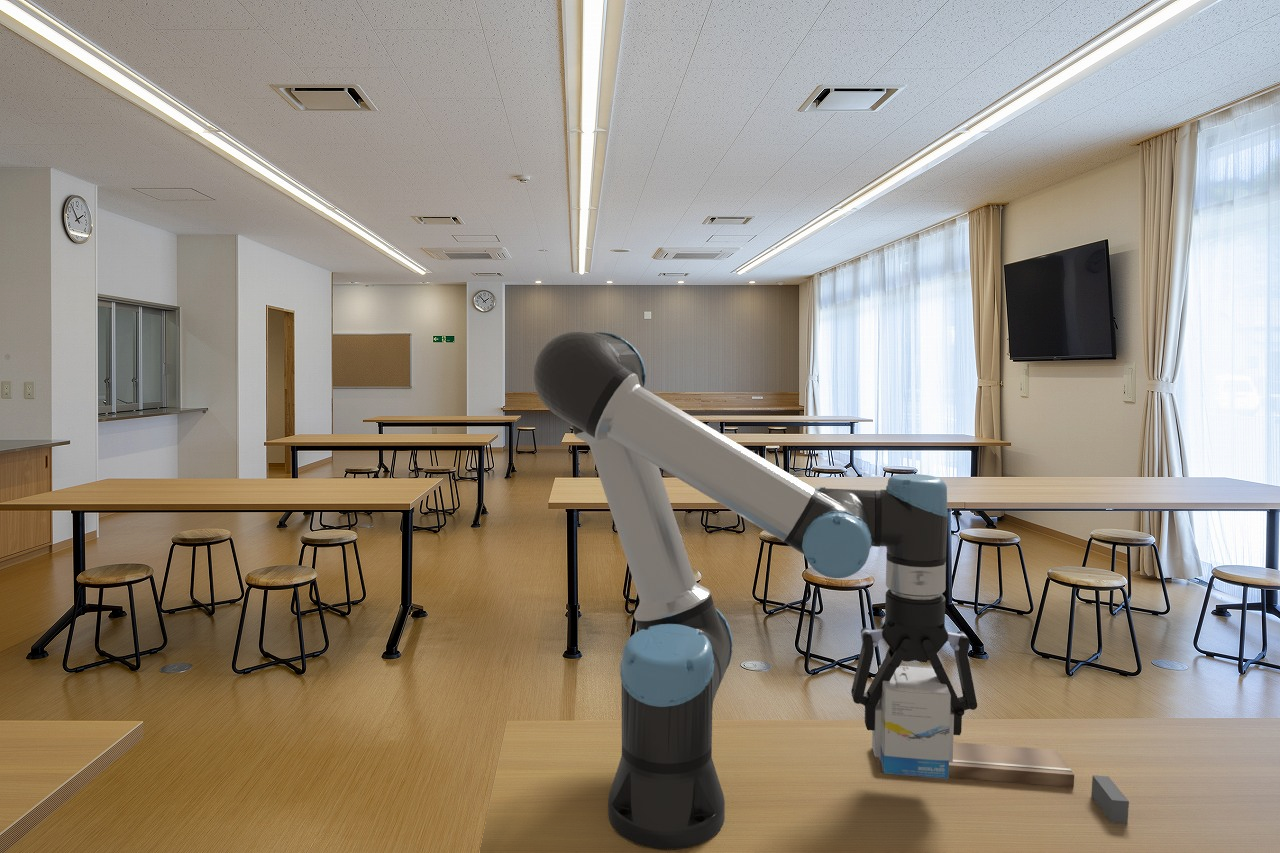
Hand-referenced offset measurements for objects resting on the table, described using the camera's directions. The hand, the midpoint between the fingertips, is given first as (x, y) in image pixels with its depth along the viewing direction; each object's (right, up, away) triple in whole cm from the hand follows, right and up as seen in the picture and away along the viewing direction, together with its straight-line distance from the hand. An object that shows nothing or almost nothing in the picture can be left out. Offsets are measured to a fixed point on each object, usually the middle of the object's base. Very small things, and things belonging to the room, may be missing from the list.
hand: (911, 754), depth 107 cm
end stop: (+25, -6, -3) cm, 26 cm away
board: (+11, -5, +7) cm, 14 cm away
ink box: (0, -1, 0) cm, 1 cm away
